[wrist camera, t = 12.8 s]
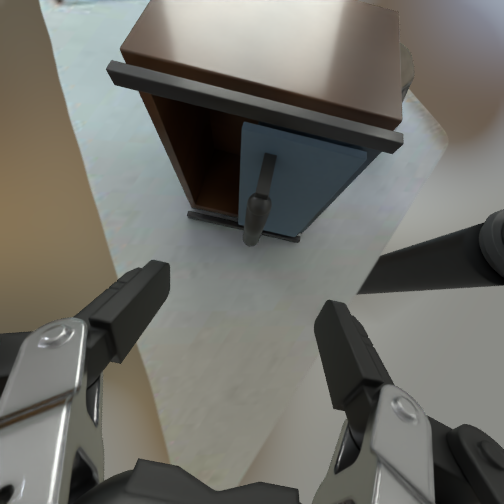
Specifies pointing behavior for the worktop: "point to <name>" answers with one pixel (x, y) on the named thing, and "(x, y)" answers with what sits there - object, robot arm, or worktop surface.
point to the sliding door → (288, 179)
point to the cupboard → (262, 84)
